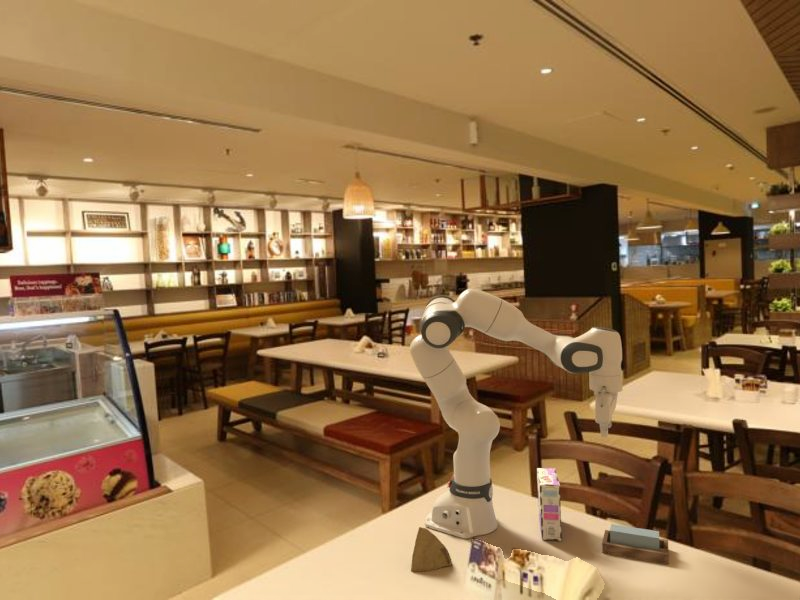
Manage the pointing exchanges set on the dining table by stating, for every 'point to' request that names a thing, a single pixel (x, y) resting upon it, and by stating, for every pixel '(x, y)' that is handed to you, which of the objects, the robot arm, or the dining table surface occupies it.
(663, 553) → the open wooden box
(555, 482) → the candy box
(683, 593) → the dining table surface
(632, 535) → the key block
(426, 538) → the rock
